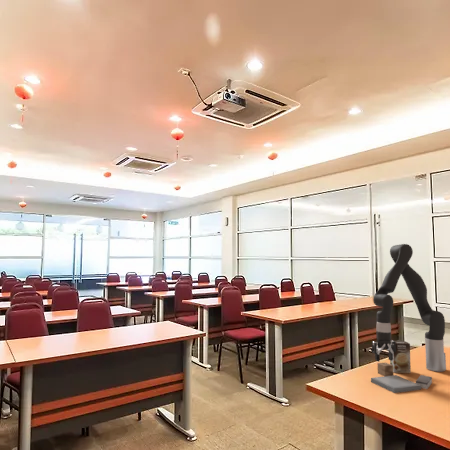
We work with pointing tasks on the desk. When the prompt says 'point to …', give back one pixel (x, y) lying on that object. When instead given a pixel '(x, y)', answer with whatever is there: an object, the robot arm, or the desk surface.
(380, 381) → the slate platform
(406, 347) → the coffee box
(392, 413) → the desk surface
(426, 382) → the felt board eraser
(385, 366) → the walnut cube
